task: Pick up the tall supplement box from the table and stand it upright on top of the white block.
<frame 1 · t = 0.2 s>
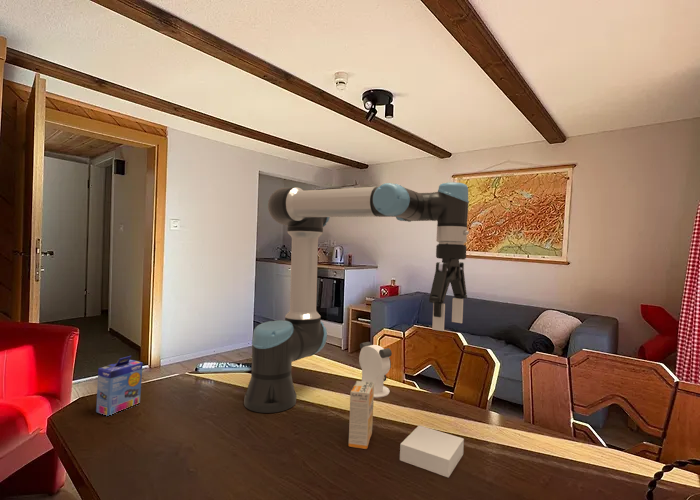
hand: (448, 326, 97), 28 cm above the table, tool pointing down, fingers open, 13 cm apart
white rounded upright piece: (372, 391, 124), on the table
ink cartridge box: (119, 409, 104), on the table
supplement box: (360, 440, 92), on the table
white block: (432, 458, 85), on the table
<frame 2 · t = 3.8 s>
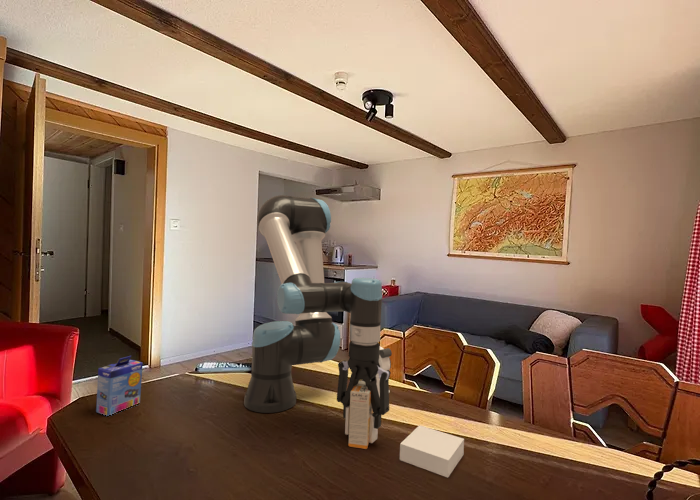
hand: (361, 436, 92), 1 cm above the table, tool pointing down, fingers closed on supplement box, 6 cm apart
supplement box: (360, 440, 92), on the table, touching gripper
everything else where it was.
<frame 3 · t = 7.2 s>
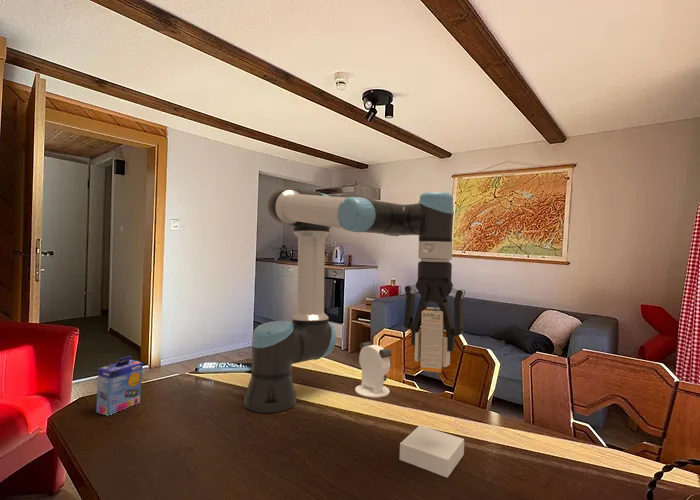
hand: (431, 362, 85), 21 cm above the table, tool pointing down, fingers closed on supplement box, 6 cm apart
supplement box: (432, 367, 85), point 20 cm above the table, touching gripper
everything else where it was.
when the fingers open (7 cm above the table, at t = 10.7 s): supplement box drops 2 cm, resting on white block.
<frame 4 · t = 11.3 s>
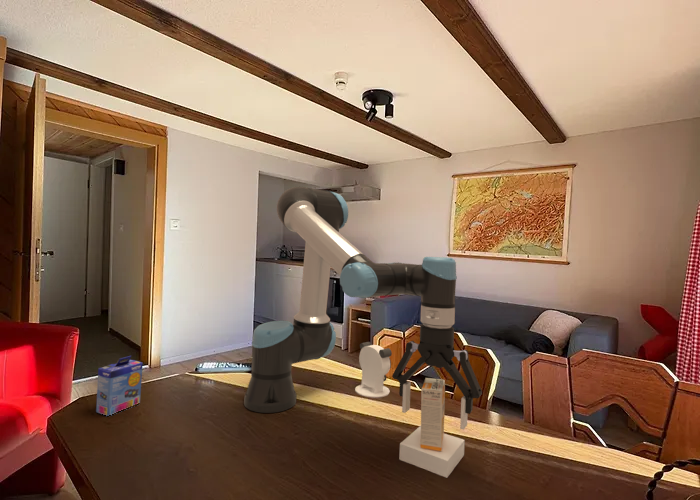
hand: (433, 418, 85), 9 cm above the table, tool pointing down, fingers open, 13 cm apart
supplement box: (432, 442, 85), point 3 cm above the table, touching white block
white block: (432, 459, 85), on the table, touching supplement box
everything else where it was.
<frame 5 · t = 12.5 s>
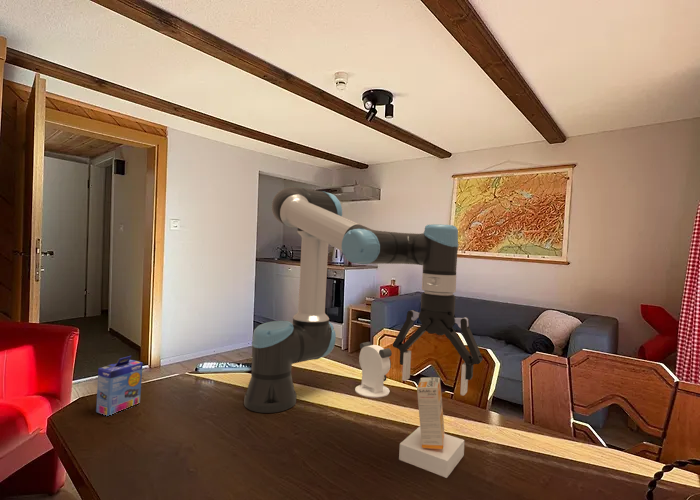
hand: (433, 386, 86), 16 cm above the table, tool pointing down, fingers open, 13 cm apart
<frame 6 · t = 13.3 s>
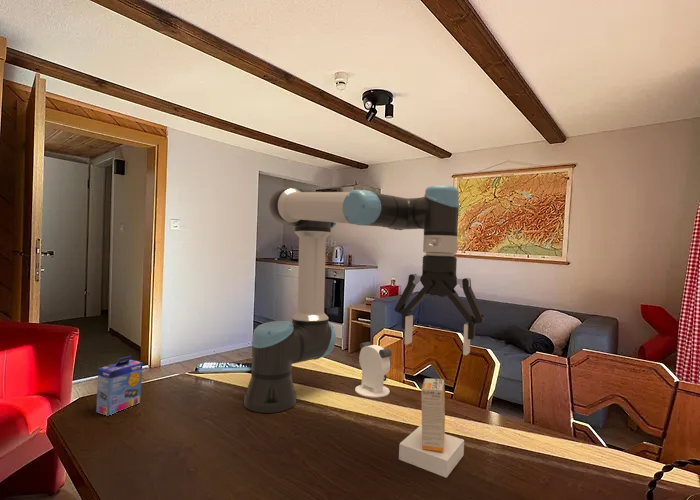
hand: (436, 348, 85), 25 cm above the table, tool pointing down, fingers open, 13 cm apart
supplement box: (434, 442, 85), point 3 cm above the table
white block: (431, 459, 85), on the table
everything else where it was.
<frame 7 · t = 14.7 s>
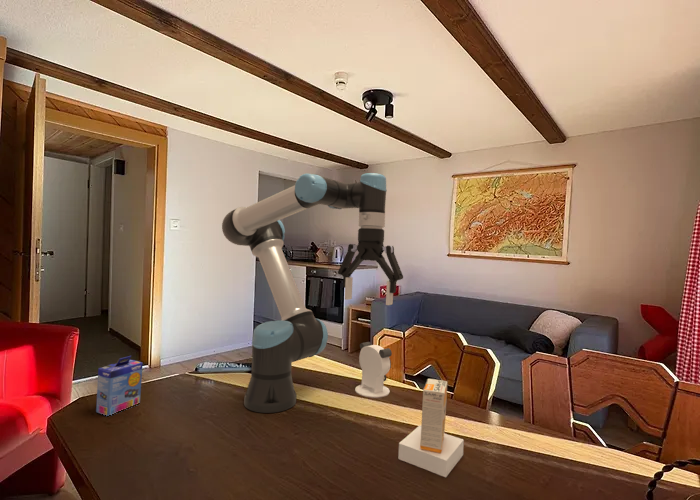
hand: (368, 302, 108), 31 cm above the table, tool pointing down, fingers open, 13 cm apart
supplement box: (432, 443, 85), point 3 cm above the table, touching white block
white block: (431, 458, 86), on the table, touching supplement box
everything else where it was.
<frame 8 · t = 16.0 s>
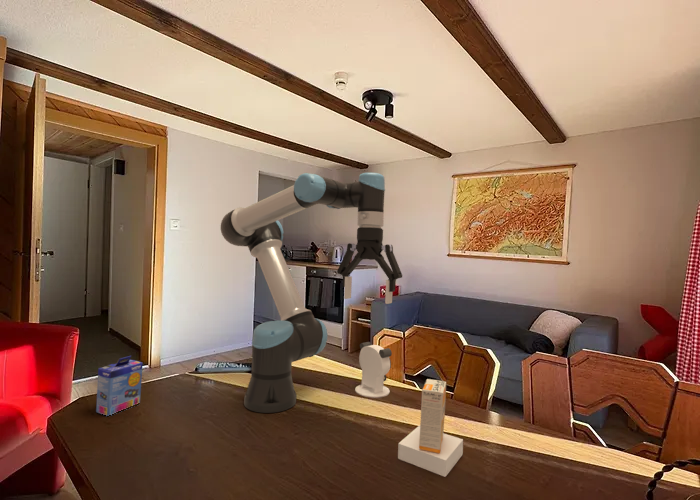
hand: (367, 300, 109), 32 cm above the table, tool pointing down, fingers open, 13 cm apart
nothing on the table moved.
at the end: supplement box inside the target area on the white block (0.7 cm from its centre), point 3.9 cm above the white block's base; supplement box tilted 1°; white block moved 0.7 cm from its start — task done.
